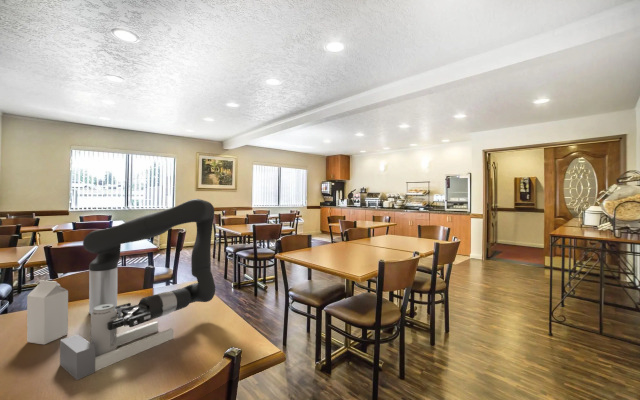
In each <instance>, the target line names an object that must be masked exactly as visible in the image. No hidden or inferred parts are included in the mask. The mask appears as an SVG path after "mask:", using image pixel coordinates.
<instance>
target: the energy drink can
mask: <svg viewBox="0 0 640 400" xmlns="http://www.w3.org/2000/svg"><path fill="white" fill-rule="evenodd" d="M117 319H118V318H117V310H116V308H115V307H114V304H102V305H99V306H96V307H94V310H93V312H92V314H90V343H91V344H93V345H94V346H95V357H98V356H101V355H103V354H106V353H108V352H111V351H113V350H116V349H117V347H116V335H117V328H116V329H113V330H108V322H111V321H114V320H117Z"/></svg>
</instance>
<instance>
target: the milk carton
mask: <svg viewBox="0 0 640 400" xmlns="http://www.w3.org/2000/svg"><path fill="white" fill-rule="evenodd" d="M26 297H27V298H26V301H27V303H26V307H27V308H26V309H27V310H26V312H27V313H26V318H27V319H26V320H27V321H26V323H27V324H26V327H27V328H26V329H27V331H26V332H27V334H26V335H27V336H26V338H27V339H26V341H27V342H28V343H32V344H38V345H47V344H49V343H51V342H53V341H56V340H58V339H60V338H63V337H65V336H67V335H69V290H68V289H66V288H65V287H62V286H61V284H60V283H58V281H56V280H55V281H53V280H43V279H40V280H39V283H38V284H37V286H35V287H34V288H33V289H32V290H31V291H30V292H29V293H28V295H27V296H26Z"/></svg>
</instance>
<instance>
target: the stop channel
mask: <svg viewBox="0 0 640 400" xmlns="http://www.w3.org/2000/svg"><path fill="white" fill-rule="evenodd" d="M158 331H159V322H158V321H157V320H156V321H152V322H150V323H147V324H144V325H141V326H138V327H136V328H133V329H129V330H128V331H127V330H126V331H124V332H121V333H118V334H116V350H113V351H111V352H108V353H106V354H103V355H101V356H98V357H95V346H94V345H93V344H91V341H88V340H87V339H85V338H84V337H83V336H81V335H80V334H79V333H77V334H75V335H71V336H68V337H64V338H62V339H59V365H60V366H61V367H62V368H63V369H64V370H65V372H67V373H68V374H70V375H71V377H73V378H74V379H75V380H76V381H77V380H81V379H82V378H85V377H87V376H89V375H92V374H94V373H96V372H97V371H99V370H102V369H104V368H106V367H109V366H111V365H113V364H116V363H118V362H120V361H123V360H126V359H127V358H130V357H133V356H134V355H138V354H140V353H142V352H144V351H146V350H149V349H152V348H155V347H156V346H158V345H161V344H163V343H166V342H168V341H171V340H173V339H174V333H175V331H174V328H171V327H170V328H168V329H166V330H163V331H160V332H158ZM156 332H158V333H156ZM154 333H155V334H154ZM151 334H152V335H151ZM149 335H150V336H149ZM146 336H148V337H146ZM142 337H145V338H143V339H140V338H142ZM139 339H140V340H139ZM136 340H137V341H136ZM133 341H134V342H133ZM130 342H132V343H130ZM126 343H129V344H127V345H124V344H126ZM122 345H124V346H122ZM119 346H121V347H119ZM117 347H119V348H117Z"/></svg>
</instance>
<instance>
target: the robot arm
mask: <svg viewBox="0 0 640 400" xmlns="http://www.w3.org/2000/svg"><path fill="white" fill-rule="evenodd" d="M214 219H215V207H214V206H213V204H212V203H211V202H210V201H207V200H204V199H200V198H193V199H190V200H187V201H185V202H183V203H180V204H179V205H176V206H173V207H170V208H168V209H167V208H166V209H163V210H159V211H156V212H152V213H149V214H145V215H143V216H140V217H135V218H133V219H131V220H129V221H125V222H124V223H122V224H119V225H115V226H112V227H108V228H104V229H103V228H102V229H97V230H93V231H90V232H89V233H88V234H86V235H85V236H84V238H83V240H82V246H83V248H84V249H85V250H86V252H89V253H91V254H97V256H96V257H95V259H93V260H92V261H91V262H90V263H89V266H88V268H89V269H88V270H89V273H88V274H89V276H88V279H89V280H88V281H89V283H88V284H89V285H88V287H89V288H88V290H89V293H88V299H89V300H88V313H89V314H90V315H91V314H92V312H93V310H94V307H96V306H99V305H102V304H114V307H115V308H116V310H117V320H114V321H111V322H108V330H113V329H116V330H117V329H118V328H122V327H129V328H134V327H136V326H138V325H141V324H144V323H146V322H150V321H152V320H155V319H159V318H161V317H163V316H167V315H168V314H169V315H170V314H171V313H173V312H176V311H179V310H182V309H185V308H186V307H188V306H189V305H190V304H191V303H196V302H199V303H208V302H210V301H212V300H213V299H214V296H215V294H216V284H215V280H214V276H213V273H212V257H211V254H212V253H211V250H212V249H211V247H212V246H211V245H212V244H211V243H212V233H213V227H214V226H213V225H214ZM189 223H195V225H196V237H195V242H194V245H193V248H192V251H191V257H190V258H191V259H190V260H191V263H190V265H191V266H190V267H191V275H192V276H193V277H194V278H196V281H197V282H195V283H192V284H189V285H186V286H184V287H181V288H177V289H174V290H173V289H172V290H171V291H164V292H160V293H157V294H152V295H149V296H145V297H142V298H141V299H140V300H139V303H138V304H132V302H128V303H123V304H119V305H118V265H119V264H118V263H119V261H120V259H121V248H122V247H121V246H122V245H123V244H128V243H133V242H140V241H144V240H148V239H151V238H152V239H153V238H154V237H157V236H160V235H162V234H163V235H164V234H165V233H166V232H167V231H169V230H171V229H172V228H174V227H176V226H180V225H184V224H189Z"/></svg>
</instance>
